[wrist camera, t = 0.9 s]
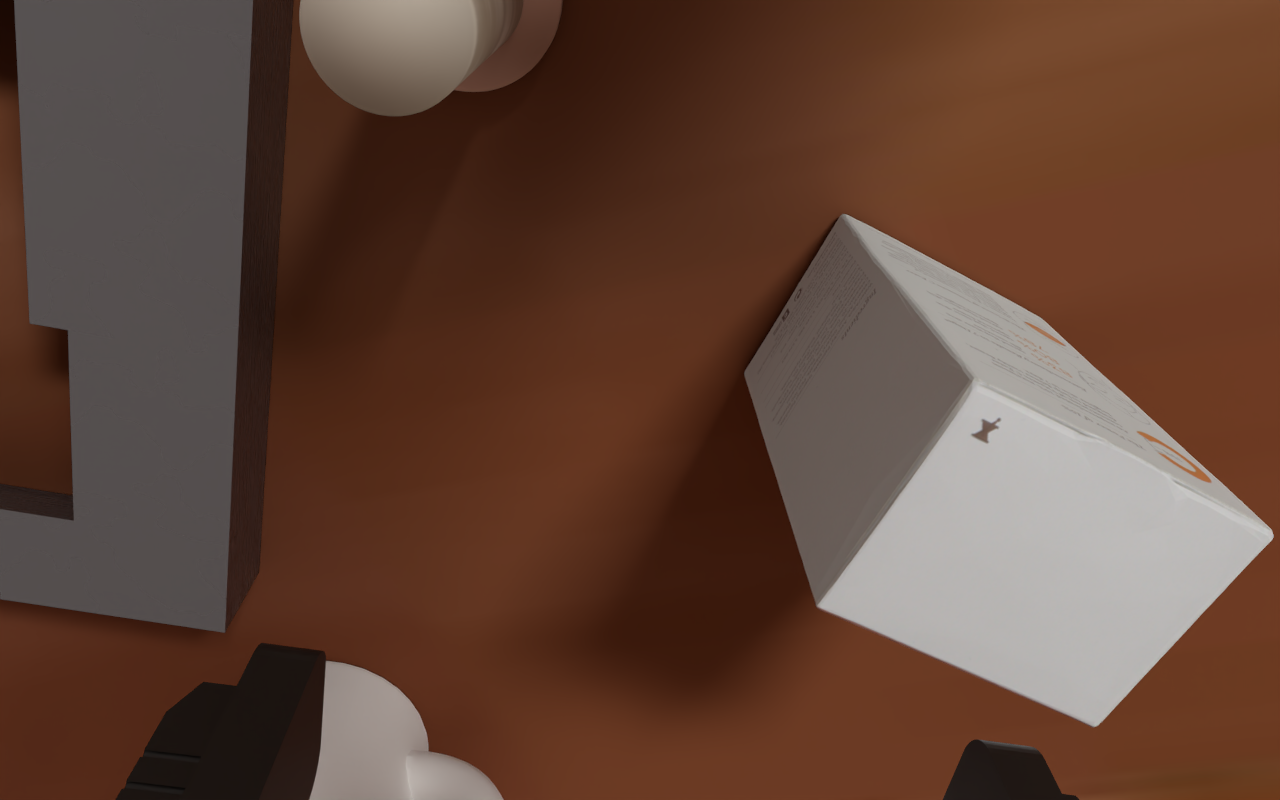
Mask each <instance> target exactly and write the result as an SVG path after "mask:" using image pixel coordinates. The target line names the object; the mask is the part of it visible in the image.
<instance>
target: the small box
mask: <svg viewBox="0 0 1280 800" xmlns="http://www.w3.org/2000/svg"><path fill="white" fill-rule="evenodd" d="M744 376H745V379H746V382H747V386H748V389H749V392H750V396H751V398H752V401H753V405H754V408H755V411H756V414H757V417H758V421H759V425H760V428H761V431H762V435H763V438H764V441H765V444H766V447H767V451H768V454H769V457H770V460H771V463H772V466H773V469H774V472H775V476H776V479H777V482H778V486H779V489H780V492H781V495H782V498H783V501H784V505H785V508H786V511H787V514H788V517H789V520H790V523H791V527H792V530H793V533H794V536H795V540H796V543H797V546H798V549H799V552H800V555H801V558H802V562H803V565H804V569H805V572H806V575H807V578H808V581H809V584H810V588H811V591H812V594H813V598H814V601H815V604H816V607H817V608H818V609H819V610H821V611H824V612H826V613H828V614H831V615H833V616H835V617H838V618H840V619H842V620H845V621H847V622H849V623H852V624H854V625H856V626H859V627H861V628H863V629H866V630H868V631H870V632H873V633H875V634H877V635H880V636H882V637H884V638H887V639H889V640H891V641H894V642H896V643H898V644H900V645H903V646H905V647H907V648H910V649H912V650H914V651H917V652H919V653H921V654H924V655H926V656H928V657H931V658H933V659H936V660H938V661H941V662H943V663H945V664H948V665H950V666H952V667H954V668H956V669H959V670H961V671H963V672H966V673H968V674H970V675H973V676H975V677H977V678H980V679H982V680H984V681H986V682H989V683H991V684H993V685H996V686H998V687H1000V688H1003V689H1005V690H1008V691H1011V692H1013V693H1015V694H1017V695H1019V696H1022V697H1024V698H1026V699H1029V700H1031V701H1033V702H1036V703H1038V704H1040V705H1043V706H1045V707H1047V708H1049V709H1052V710H1054V711H1056V712H1059V713H1061V714H1063V715H1066V716H1068V717H1070V718H1073V719H1075V720H1077V721H1080V722H1082V723H1084V724H1087V725H1089V726H1090V727H1095V726H1098V725H1099V724H1100V723H1101V722H1102V721H1103V720H1104V719H1105V718H1106V717H1107V716H1108V714H1109V713H1110V712H1111V711H1112V710H1113V709H1114V708H1115V707H1116V706H1117V705H1118V704H1119V703H1120V702H1121V701H1122V699H1123V698H1124V697H1125V696H1126V695H1127V694H1128V693H1129V692H1130V691H1131V690H1132V689H1133V687H1134V686H1135V685H1136V684H1137V683H1138V682H1139V681H1140V680H1141V679H1142V678H1143V677H1144V676H1145V675H1146V674H1147V672H1148V671H1149V670H1150V669H1151V668H1152V667H1153V666H1154V665H1155V664H1156V663H1157V662H1158V661H1159V659H1160V658H1161V657H1162V656H1163V655H1164V654H1165V653H1166V652H1167V651H1168V650H1169V649H1170V648H1171V647H1172V646H1173V645H1174V644H1175V642H1176V641H1177V640H1178V639H1179V638H1180V637H1181V636H1182V635H1183V634H1184V633H1185V632H1186V631H1187V629H1188V628H1189V627H1190V626H1191V625H1192V624H1193V623H1194V622H1195V621H1196V620H1197V619H1198V618H1199V617H1200V615H1201V614H1202V613H1203V612H1204V611H1205V610H1206V609H1207V608H1208V607H1209V606H1210V605H1211V604H1212V603H1213V601H1214V600H1215V599H1216V598H1217V597H1218V596H1219V595H1220V594H1221V593H1222V592H1223V591H1224V590H1225V589H1226V588H1227V587H1228V585H1229V584H1230V583H1231V582H1232V581H1233V580H1234V579H1235V578H1236V577H1237V576H1238V575H1239V574H1240V573H1241V572H1242V571H1243V569H1244V568H1245V567H1246V566H1247V565H1248V564H1249V563H1250V562H1251V561H1252V560H1253V559H1254V558H1255V557H1256V556H1257V555H1258V554H1259V553H1260V552H1261V551H1262V550H1263V549H1264V548H1265V547H1266V546H1267V545H1268V544H1269V543H1270V542H1271V541H1272V539H1273V537H1274V535H1273V532H1272V530H1271V529H1270V528H1269V527H1268V526H1267V525H1266V524H1265V523H1264V522H1263V521H1262V520H1261V519H1260V518H1259V517H1258V516H1256V515H1255V514H1254V513H1253V512H1252V511H1251V510H1250V509H1249V508H1248V507H1247V506H1246V505H1245V504H1244V503H1243V502H1242V501H1240V500H1239V499H1238V498H1237V497H1236V496H1235V495H1234V494H1233V493H1232V492H1231V491H1230V490H1229V489H1228V488H1226V487H1225V486H1224V485H1223V484H1222V483H1221V482H1220V481H1219V480H1218V479H1217V478H1216V477H1214V476H1213V475H1212V474H1211V473H1210V472H1209V471H1208V470H1206V469H1205V468H1204V467H1203V466H1202V465H1201V464H1200V463H1199V462H1198V461H1197V460H1196V459H1194V458H1193V457H1192V456H1191V455H1190V454H1189V453H1188V452H1187V451H1186V450H1185V449H1184V448H1182V447H1181V446H1180V445H1179V444H1178V443H1177V442H1176V441H1175V440H1174V439H1173V438H1172V437H1171V436H1169V435H1168V434H1167V433H1166V432H1165V431H1164V430H1163V429H1162V428H1161V427H1160V426H1159V425H1157V424H1156V423H1155V422H1154V421H1153V420H1152V419H1151V418H1150V417H1149V416H1148V415H1147V414H1145V413H1144V412H1143V411H1142V410H1141V409H1140V408H1139V407H1138V406H1137V405H1136V404H1135V403H1134V402H1133V401H1132V400H1131V399H1129V398H1128V397H1127V396H1126V395H1125V394H1124V393H1123V392H1121V391H1120V390H1119V389H1118V388H1117V387H1116V386H1115V385H1113V384H1112V383H1111V382H1110V381H1109V380H1108V379H1107V378H1106V377H1105V376H1104V375H1102V374H1101V373H1100V372H1099V371H1098V370H1097V369H1096V368H1095V367H1094V366H1092V365H1091V364H1090V363H1089V362H1088V361H1087V360H1086V359H1085V358H1084V357H1083V356H1082V355H1081V354H1080V353H1078V352H1077V351H1076V350H1075V349H1074V348H1073V347H1072V346H1071V345H1070V344H1069V343H1068V342H1067V341H1065V340H1064V339H1063V338H1062V337H1061V336H1060V335H1059V334H1058V333H1057V332H1056V331H1055V330H1054V329H1053V328H1052V327H1051V326H1049V325H1048V324H1047V323H1046V322H1045V321H1044V320H1043V319H1042V318H1040V317H1038V316H1037V315H1035V314H1033V313H1031V312H1029V311H1028V310H1026V309H1024V308H1022V307H1021V306H1019V305H1017V304H1015V303H1013V302H1011V301H1010V300H1008V299H1006V298H1004V297H1002V296H1000V295H999V294H997V293H995V292H993V291H991V290H989V289H988V288H986V287H984V286H982V285H980V284H978V283H976V282H975V281H973V280H971V279H969V278H967V277H965V276H963V275H962V274H960V273H958V272H956V271H954V270H952V269H950V268H948V267H946V266H945V265H943V264H941V263H939V262H937V261H935V260H933V259H931V258H930V257H928V256H926V255H924V254H922V253H920V252H918V251H916V250H914V249H913V248H911V247H909V246H907V245H905V244H903V243H901V242H899V241H898V240H896V239H894V238H892V237H890V236H888V235H886V234H884V233H882V232H880V231H878V230H877V229H875V228H873V227H871V226H869V225H867V224H865V223H863V222H860V221H858V220H856V219H854V218H853V217H851V216H849V215H846V214H842V215H841V216H840V217H839V218H838V220H837V222H836V223H835V225H834V227H833V228H832V230H831V232H830V233H829V235H828V236H827V238H826V240H825V241H824V243H823V245H822V246H821V248H820V250H819V251H818V253H817V254H816V256H815V258H814V259H813V261H812V262H811V264H810V266H809V267H808V269H807V271H806V272H805V274H804V276H803V277H802V279H801V281H800V282H799V284H798V286H797V287H796V289H795V291H794V292H793V294H792V295H791V297H790V299H789V300H788V302H787V304H786V305H785V307H784V309H783V310H782V312H781V314H780V315H779V317H778V318H777V320H776V322H775V323H774V325H773V327H772V328H771V330H770V332H769V333H768V335H767V336H766V338H765V340H764V341H763V343H762V344H761V346H760V348H759V349H758V351H757V352H756V354H755V356H754V357H753V359H752V360H751V362H750V364H749V365H748V367H747V368H746V370H745V372H744Z"/></svg>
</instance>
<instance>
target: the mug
mask: <svg viewBox="0 0 1280 800" xmlns="http://www.w3.org/2000/svg"><path fill="white" fill-rule="evenodd" d="M309 800H503V798H502V796H501V794H500V793H499V791H498V790H497V788H496V786H495V785H494V784H493V783H492V781H491V780H490V779H489V778H488V777H487V776H486V775H485V774H484V773H482V772H481V771H480V770H479V769H478V768H476V767H474V766H473V765H471V764H469V763H468V762H465V761H463V760H460V759H458V758H456V757H452V756H448V755H445V754H440V753H434V752H428V738H427V733H426V730H425V727H424V725H423V722H422V719H421V717H420V714H419V713H418V711H417V710H416V708H415V707H414V705H413V704H412V702H411V701H410V700H409V699H408V698H407V697H406V696H405V695H404V694H403V693H402V692H401V691H400V690H399V689H398V688H397V687H396V686H394V685H393V684H391V683H390V682H388V681H387V680H385V679H384V678H382V677H380V676H378V675H376V674H374V673H372V672H370V671H368V670H366V669H363V668H360V667H356V666H353V665H349V664H346V663H340V662H332V661H326V669H325V685H324V702H323V718H322V735H321V748H320V756H319V762H318V767H317V772H316V777H315V781H314V785H313V789H312V792H311V796H310V799H309Z"/></svg>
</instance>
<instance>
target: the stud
mask: <svg viewBox="0 0 1280 800" xmlns="http://www.w3.org/2000/svg"><path fill="white" fill-rule="evenodd" d="M562 7H563V0H301V2H300V9H299V22H300V30H301V36H302V40H303V44H304V47H305V50H306V52H307V55H308V57H309V59H310V61H311V63H312V65H313V67H314V69H315V70H316V72H317V73H318V74H319V76H320V77H321V79H322V80H323V81H324V82H325V83H326V84H327V86H328V87H329V88H330V89H331V90H333V91H334V92H335V93H336V94H337V95H338V96H339V97H341V98H342V99H344V100H345V101H346V102H348V103H350V104H352V105H353V106H355V107H357V108H359V109H362V110H364V111H367V112H370V113H374V114H377V115H384V116H405V115H412V114H415V113H419V112H422V111H424V110H427V109H429V108H431V107H433V106H434V105H436V104H438V103H439V102H440V101H442V100H443V99H444V98H445V97H446V96H448V95H449V94H450V93H451V92H452V91H453V90H457V91H465V92H483V91H491V90H495V89H498V88H502V87H504V86H507V85H509V84H511V83H513V82H515V81H517V80H518V79H520V78H521V77H523V76H524V75H525V74H527V73H528V72H529V71H530V70H531V69H532V68H533V67H534V66H535V65H536V64H537V63H538V62H539V61H540V59H541V58H542V57H543V55H544V54H545V52H546V51H547V49H548V48H549V46H550V44H551V42H552V40H553V39H554V37H555V34H556V32H557V29H558V26H559V23H560V19H561V14H562Z"/></svg>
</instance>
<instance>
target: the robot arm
mask: <svg viewBox="0 0 1280 800" xmlns="http://www.w3.org/2000/svg"><path fill="white" fill-rule="evenodd" d="M325 669H326V656H325V652H324V651H319V650H311V649H304V648H296V647H289V646H281V645H273V644H266V643H261V644H260V645H258V647H257V648H256V650H255V651H254V653H253V655H252V657H251V659H250V661H249V663H248V665H247V667H246V669H245V671H244V673H243V675H242V677H241V679H240V681H239V683H238V685H237V686H231V685H224V684H216V683H208V682H203V683H202V684H200V685H199V686H198V687H197V688H195V689H194V690H193V691H192V692H190V693H189V694H188V695H187V696H185V697H184V698H183V699H182V700H180V701H179V702H178V703H177V704H176V705H174V706H173V707H172V708H171V709H169V710H168V711H167V712H166V713H165V715H164V717H163V719H162V720H161V722H160V724H159V725H158V727H157V729H156V731H155V732H154V734H153V736H152V738H151V739H150V741H149V743H148V745H147V746H146V748H145V751H144V755H143V757H140V758H139V760H138V762H137V764H136V765H135V767H134V769H133V771H132V772H131V774H130V776H129V778H128V779H127V782H126V786H125V788H124V789H122V790H121V791H120V793H119V795H118V797H117V798H116V800H309V799H310V796H311V792H312V789H313V785H314V781H315V777H316V772H317V767H318V762H319V756H320V748H321V735H322V718H323V702H324V685H325ZM943 800H1079V799H1078V798H1077V797H1076V796H1074V795H1066V794H1062V793H1061V791H1060V789H1059V787H1058V785H1057V783H1056V781H1055V779H1054V777H1053V775H1052V773H1051V771H1050V769H1049V767H1048V765H1047V763H1046V761H1045V759H1044V758H1043V756H1042V754H1041V753H1040V752H1039V751H1038V750H1037V749H1035V748H1033V747H1030V746H1022V745H1014V744H1007V743H999V742H992V741H984V740H973V741H971V742H970V743H969V744H968V745H967V746H966V748H965V750H964V752H963V754H962V757H961V759H960V761H959V764H958V766H957V768H956V770H955V773H954V775H953V777H952V780H951V782H950V784H949V787H948V789H947V791H946V794H945V796H944V798H943Z"/></svg>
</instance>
